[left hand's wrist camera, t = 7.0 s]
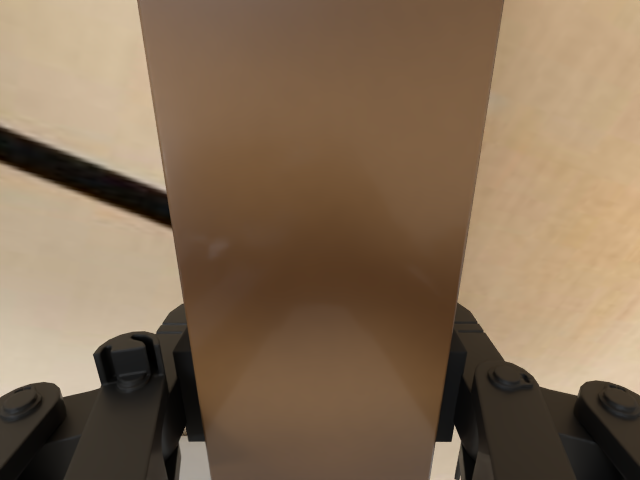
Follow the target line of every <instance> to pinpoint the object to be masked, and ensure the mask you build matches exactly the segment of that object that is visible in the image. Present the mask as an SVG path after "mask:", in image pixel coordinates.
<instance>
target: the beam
mask: <svg viewBox="0 0 640 480" xmlns="http://www.w3.org/2000/svg"><path fill="white" fill-rule="evenodd" d="M137 2H138V9H139V15H140V22H141V28H142V35H143V41H144V48H145V54H146V61H147V67H148V74H149V80H150V87H151V93H152V100H153V106H154V113H155V119H156V126H157V132H158V139H159V145H160V152H161V158H162V165H163V171H164V178H165V184H166V191H167V197H168V204H169V210H170V216H171V223H172V229H173V236H174V242H175V249H176V255H177V262H178V268H179V275H180V281H181V288H182V294H183V301H184V307H185V314H186V320H187V327H188V333H189V340H190V346H191V353H192V359H193V366H194V372H195V379H196V385H197V392H198V398H199V405H200V411H201V418H202V424H203V431H204V437H205V444H206V450H207V457H208V463H209V470H210V476H211V480H430V474H431V468H432V461H433V455H434V448H435V442H436V435H437V429H438V423H439V416H440V410H441V403H442V397H443V390H444V384H445V377H446V371H447V365H448V358H449V352H450V345H451V339H452V332H453V326H454V319H455V313H456V307H457V300H458V294H459V287H460V281H461V274H462V268H463V261H464V255H465V249H466V242H467V236H468V229H469V223H470V216H471V210H472V204H473V197H474V191H475V184H476V178H477V171H478V165H479V158H480V152H481V146H482V139H483V133H484V126H485V120H486V113H487V107H488V100H489V94H490V88H491V81H492V75H493V68H494V62H495V55H496V49H497V42H498V36H499V30H500V23H501V17H502V10H503V4H504V0H137Z"/></svg>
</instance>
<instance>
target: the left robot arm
mask: <svg viewBox="0 0 640 480" xmlns="http://www.w3.org/2000/svg"><path fill="white" fill-rule="evenodd" d="M93 356H94V360H95V363H96V367H97V370H98V374H99V378H100V381H101V388H99V389H96V390H93V391H89V392H84V393H80V394H75V395H71V396H66V397H62V394H61V391H60V388H59V387H58V386H56V385H55V384H53V383H47V382H41V383H34V384H29V385H26V386H23V387H20V388H17V389H15V390H13V391H11V392H9V393H7V394H5V395H4V396H2V397H0V480H179V475H180V465H181V451H180V446H179V440H180V438H181V436H182V433H183V431H184V428H185V426H186V431H187V437H188V442H205V437H204V431H203V424H202V418H201V411H200V405H199V398H198V392H197V385H196V379H195V372H194V366H193V359H192V353H191V346H190V340H189V333H188V327H187V320H186V314H185V307H184V304H181V305H180V306H179V307H177V308H176V309H174V310H173V311H171V312H170V313H169V315H168V316H167V317H166V319H165V320H164V322H163V325H161V326H160V328H159V329H158V330H157V333H156V334H153V333H149V332H145V331H142V332H130V333H126V334H122V335H119V336H117V337H115V338H112V339H110V340H108V341H107V342H105V343H104V344H102V345H101V346H100V347H99V348H98V349H97V350H96V351H95V353H94V354H93ZM454 425H455V427H456V429H457V432H458V434H459V437H460V439H461V446H460V451H459V456H458V461H457V466H456V472H455V479H456V480H459V479H460V474H461V480H640V396H639V395H638V394H636V393H634V392H632V391H630V390H628V389H627V388H625V387H622V386H619V385H616V384H613V383H610V382H604V381H589V382H586V383H584V384H583V385H582V386H581V387H580V390H579V393H578V396H576V395H572V394H567V393H563V392H558V391H554V390H549V389H546V388H542V387H539V385H538V383H537V382H536V380H535V379H534V377H533V376H532V375H531V374H529V373H528V372H527V371H526V370H524V369H523V368H521V367H519V366H517V365H515V364H513V363H509V362H505V361H504V359H503V358H502V356H501V355H500V353H499V352H498V351H497V349H496V348H495V346H494V345H493V343H492V342H491V341H490V339H489V338H488V336H487V335H486V333H484V332H483V329H482V328H481V326H480V325H479V324H477V321H476V319H475V318H474V316H473V315H472V313H471V312H470V311H469V310H467V309H466V308H464V307H463V306H462V305H460V304H459V303H457V307H456V313H455V319H454V326H453V332H452V339H451V345H450V352H449V358H448V365H447V371H446V377H445V384H444V390H443V397H442V403H441V410H440V416H439V423H438V429H437V435H436V442H451V441H452V435H453V430H454Z"/></svg>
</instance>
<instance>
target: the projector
mask: <svg viewBox="0 0 640 480" xmlns="http://www.w3.org/2000/svg"><path fill="white" fill-rule="evenodd" d="M179 446H180V451H181V465H180V475H179V480H211V476H210V470H209V463H208V457H207V450H206V444H205V442H188V437H187V436H181V438H180V440H179Z"/></svg>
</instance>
